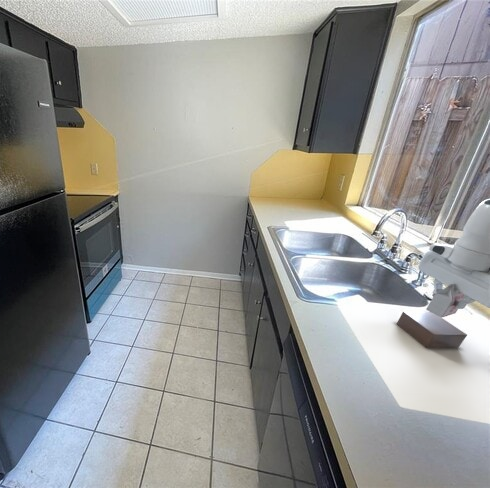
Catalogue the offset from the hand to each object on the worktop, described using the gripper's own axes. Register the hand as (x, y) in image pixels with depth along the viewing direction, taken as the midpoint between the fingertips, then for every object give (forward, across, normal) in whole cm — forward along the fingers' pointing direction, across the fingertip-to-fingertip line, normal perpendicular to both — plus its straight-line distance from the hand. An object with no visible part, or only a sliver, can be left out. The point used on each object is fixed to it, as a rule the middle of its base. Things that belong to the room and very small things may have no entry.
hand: (446, 300), depth 74 cm
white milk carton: (+4, 0, 0) cm, 4 cm away
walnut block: (+13, 0, 0) cm, 13 cm away
